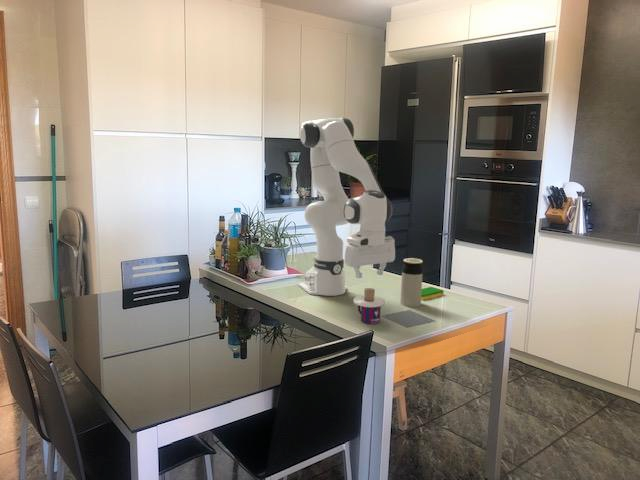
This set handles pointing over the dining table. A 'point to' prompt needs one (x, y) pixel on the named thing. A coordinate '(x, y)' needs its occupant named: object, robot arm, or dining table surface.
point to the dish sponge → (431, 293)
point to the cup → (370, 314)
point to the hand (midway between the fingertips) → (369, 276)
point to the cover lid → (369, 299)
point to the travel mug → (411, 282)
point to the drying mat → (408, 318)
